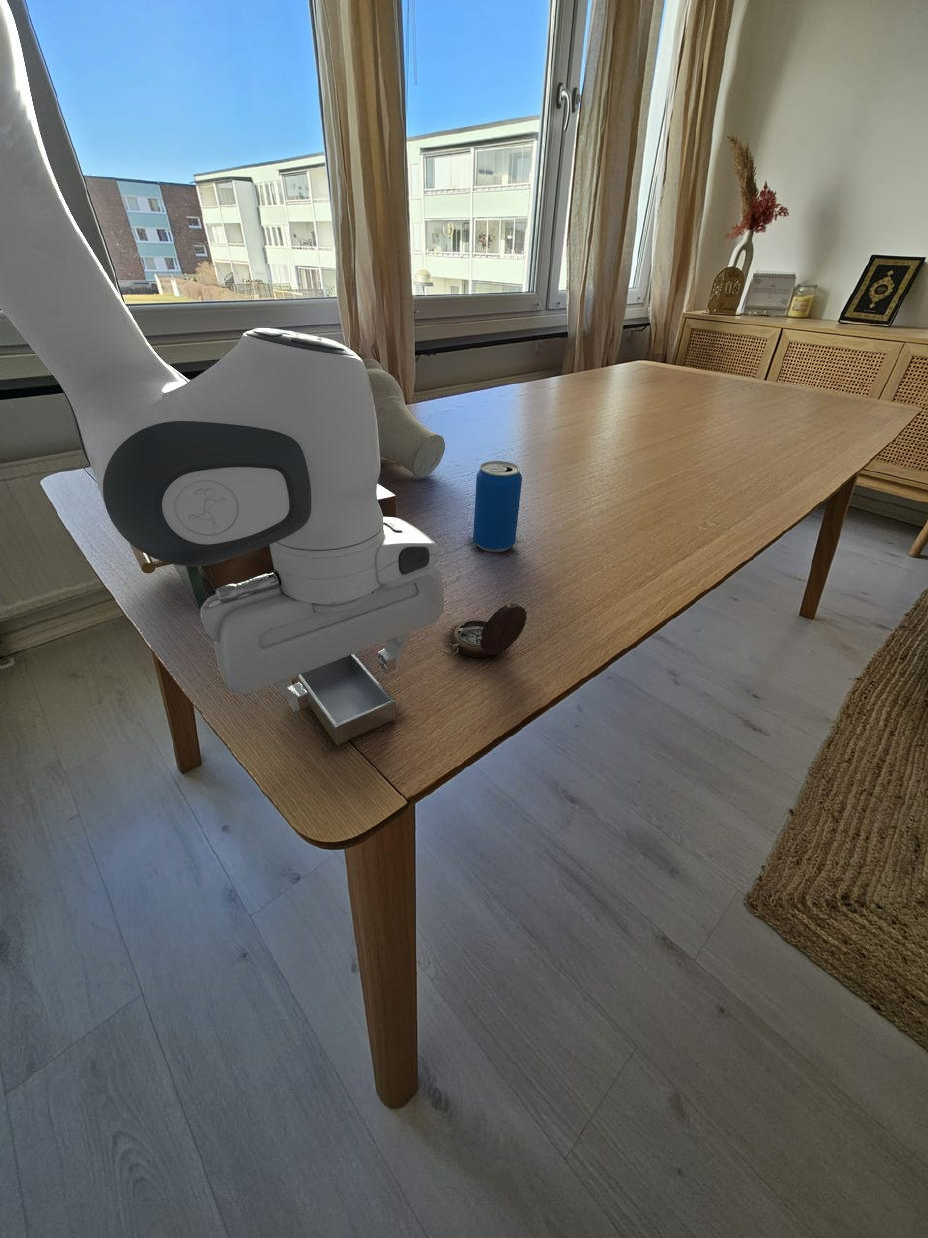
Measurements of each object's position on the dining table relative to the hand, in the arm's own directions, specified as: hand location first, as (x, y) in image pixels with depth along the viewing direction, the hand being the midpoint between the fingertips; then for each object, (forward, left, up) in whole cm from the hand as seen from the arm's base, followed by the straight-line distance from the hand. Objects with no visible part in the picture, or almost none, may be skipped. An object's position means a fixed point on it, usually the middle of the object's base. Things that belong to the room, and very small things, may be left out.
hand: (346, 685), depth 51 cm
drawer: (-2, +30, -2) cm, 30 cm away
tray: (0, 0, -2) cm, 2 cm away
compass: (+16, 0, -3) cm, 16 cm away
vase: (+37, +57, -3) cm, 68 cm away
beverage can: (+34, +19, -3) cm, 39 cm away
